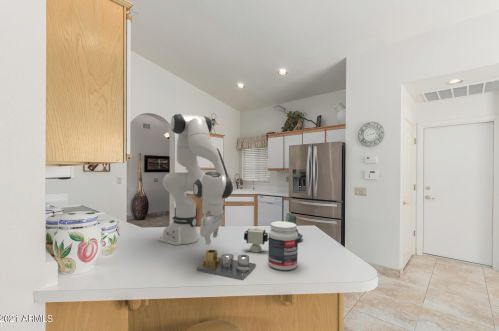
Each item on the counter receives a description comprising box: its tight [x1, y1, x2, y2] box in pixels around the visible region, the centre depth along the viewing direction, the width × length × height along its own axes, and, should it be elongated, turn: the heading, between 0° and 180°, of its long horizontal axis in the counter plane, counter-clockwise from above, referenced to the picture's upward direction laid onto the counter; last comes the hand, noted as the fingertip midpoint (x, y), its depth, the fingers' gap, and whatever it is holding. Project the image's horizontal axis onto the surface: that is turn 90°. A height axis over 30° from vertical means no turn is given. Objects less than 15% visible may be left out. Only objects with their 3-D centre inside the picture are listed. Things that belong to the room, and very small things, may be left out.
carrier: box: [196, 253, 257, 281], centre depth 108 cm, size 21×14×7 cm, turn 68°
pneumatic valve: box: [243, 227, 269, 254], centre depth 130 cm, size 6×12×12 cm, turn 78°
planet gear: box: [202, 248, 221, 266], centre depth 111 cm, size 7×7×5 cm
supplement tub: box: [267, 220, 299, 271], centre depth 113 cm, size 13×13×18 cm
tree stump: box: [268, 213, 303, 241], centre depth 152 cm, size 18×20×18 cm
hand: (211, 240), depth 112 cm, fingers open, 8 cm apart
